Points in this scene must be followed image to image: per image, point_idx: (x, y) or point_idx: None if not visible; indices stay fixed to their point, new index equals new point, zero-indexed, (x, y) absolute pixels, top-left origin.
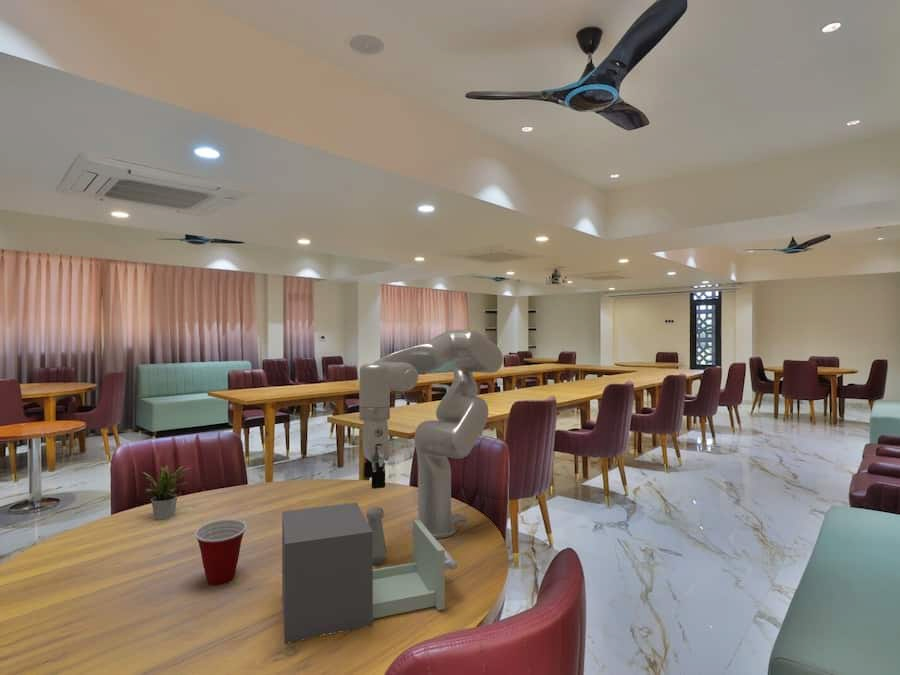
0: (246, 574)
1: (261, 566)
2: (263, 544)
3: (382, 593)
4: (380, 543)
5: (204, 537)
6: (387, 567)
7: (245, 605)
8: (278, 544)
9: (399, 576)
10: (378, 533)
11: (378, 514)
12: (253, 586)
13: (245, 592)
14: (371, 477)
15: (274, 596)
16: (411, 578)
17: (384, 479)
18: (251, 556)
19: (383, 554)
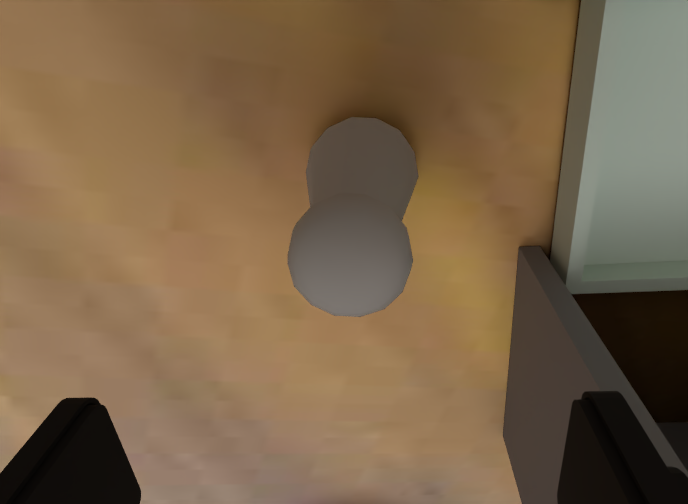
0: (343, 499)
1: (303, 473)
2: (149, 471)
3: None
4: (404, 169)
5: None
6: (589, 150)
7: (517, 497)
8: (152, 440)
9: (612, 89)
10: (399, 196)
11: (407, 247)
12: (420, 486)
13: (447, 498)
14: (115, 439)
15: (500, 449)
16: (664, 34)
17: (668, 486)
18: (230, 492)
19: (404, 138)
